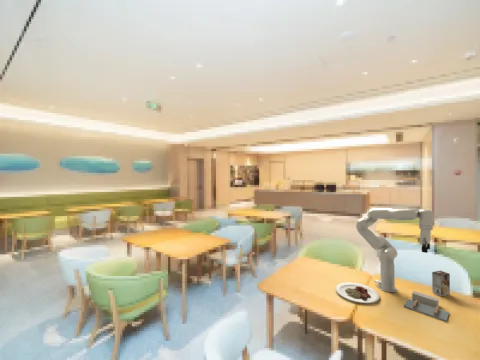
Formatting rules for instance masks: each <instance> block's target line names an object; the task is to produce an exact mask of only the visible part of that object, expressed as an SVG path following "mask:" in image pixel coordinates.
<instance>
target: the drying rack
mask: <svg viewBox="0 0 480 360" xmlns="http://www.w3.org/2000/svg"><path fill="white" fill-rule="evenodd" d="M403 307H404V308H406V309H409V310H410V311H414V312H418V313H420V314H423V315H426V316H429V317H432V318H434V319H437V320H440V321H443V322H446V323H447V322H448V318H449V315H450V312H449V311H447V310H444V309H441V308H440V306H436V307H433V306H429V305H426V304H423V303H420V302H418V300H417V299H416V300H415V301H414V300H412V299H410V298H407V300H406V301H405V303H404V304H403Z"/></svg>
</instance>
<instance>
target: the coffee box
mask: <svg viewBox="0 0 480 360" xmlns="http://www.w3.org/2000/svg"><path fill="white" fill-rule="evenodd" d="M431 275H432V277H431V278H432V279H431V281H432V283H431V284H432V285H431V286H432V287H431V288H432V290H431V292H432V293H433V294H435V295H437V296H439V297H444V296H449V295H450V294H451V292H450V291H451V289H450V288H451V283H450V278H451V277H450V276H451V275H450V273H449V272H445V271H442V270H436V271H432V273H431Z"/></svg>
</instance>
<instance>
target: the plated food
mask: <svg viewBox="0 0 480 360" xmlns="http://www.w3.org/2000/svg"><path fill="white" fill-rule="evenodd" d="M355 286H356V287H355ZM335 291H336V292H337V294H338V295H339V296H341V297H342V298H344V299H346V300H349V301H351V302H355V303H359V304H372V303H377V302H378V301H379V300H380V297H381V296H380V294H379V293H378V291H376V290H375V289H373V287H370V286H368V285H366V284H363V283H359V282H351V281H350V282H348V281H347V282H340V283H338V284H337V285H336V286H335Z"/></svg>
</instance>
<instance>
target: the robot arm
mask: <svg viewBox="0 0 480 360" xmlns="http://www.w3.org/2000/svg"><path fill="white" fill-rule="evenodd" d="M433 215H434V213H433V211H432V210H431V209H421V208H415V207H412V208H407V209H394V208H390V207H387V208H386V207H384V208H382V207H381V208H380V207H373V208H371V209H369V210H368V212H367V214H366V215H365V216H363V217H362V218H360V219H358V220H357V222H356V223H355V224H356V225H355V227H356V230H357V232H358V233H359V235H360V236H361V237H362V238H363V239H364V240H365V242H367V243H368V245H369V246H370V247H371V248H372V249H373V250H376V251H380V252H379V262H380V263H379V264H380V266H379V267H380V274H379V275H380V279H379V280H378V279H374V282H375V284H378V286H377V287H378V288H379V289H380V290H381V291H384V292H386V293H396V292H398V288H397V287H396V286H395V285H396V283H395V282H396V281H395V278H396V277H395V272H396V269H395V259H396V258H397V257H398V251H397V249H396V248H395V247H394V246H393V245H392V244H391V243H390V242H389V241H388V240H387V238H385V237H384V236H382V235H376V234H375V233H374V232H373V230H371V229H369V228H370V227H372V226H373V225H374V224H375V223H376V222H377V221H378V220H396V221H412V220H413V221H414V220H416V219H418V228H419V229H420V233H419V243H421V253H428V251H429V250H431V240H432V239H431V238H432V233H431V232H432V231H433V230H434V223H433V217H434V216H433Z"/></svg>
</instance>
